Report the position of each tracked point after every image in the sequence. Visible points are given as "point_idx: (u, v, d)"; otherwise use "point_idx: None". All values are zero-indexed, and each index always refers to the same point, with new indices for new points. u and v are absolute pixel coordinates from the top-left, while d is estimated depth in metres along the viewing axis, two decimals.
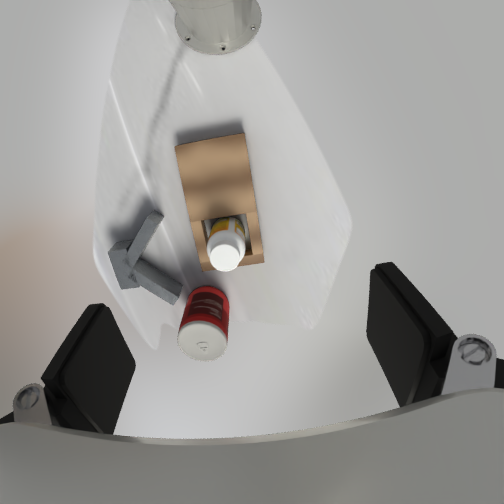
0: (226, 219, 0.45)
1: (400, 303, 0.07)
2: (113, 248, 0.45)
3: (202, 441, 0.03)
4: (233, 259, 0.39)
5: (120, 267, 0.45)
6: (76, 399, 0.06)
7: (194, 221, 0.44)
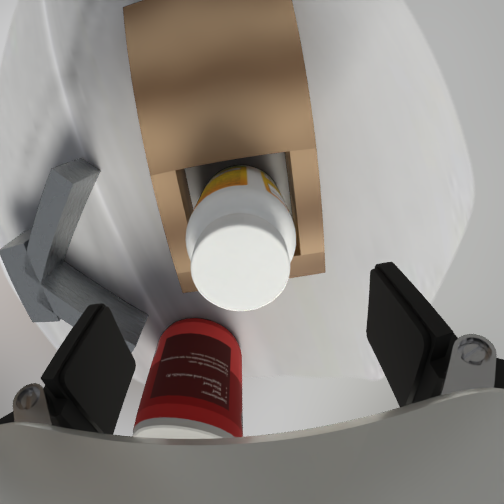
0: (240, 168, 0.18)
1: (400, 303, 0.07)
2: (11, 242, 0.18)
3: (202, 441, 0.03)
4: (267, 274, 0.12)
5: (22, 281, 0.18)
6: (76, 399, 0.06)
7: (159, 173, 0.17)
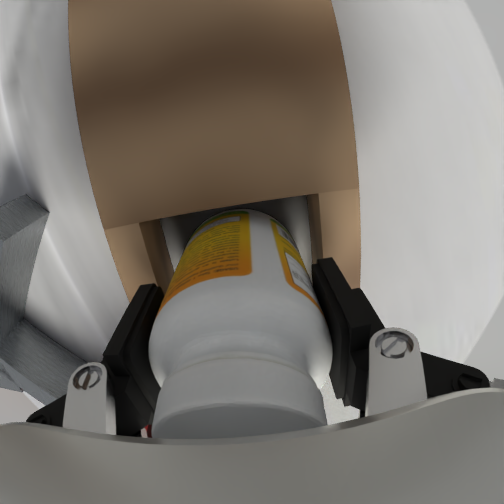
0: (239, 217, 0.12)
1: (327, 295, 0.08)
2: None
3: (202, 441, 0.03)
4: None
5: None
6: (138, 376, 0.07)
7: (116, 226, 0.11)
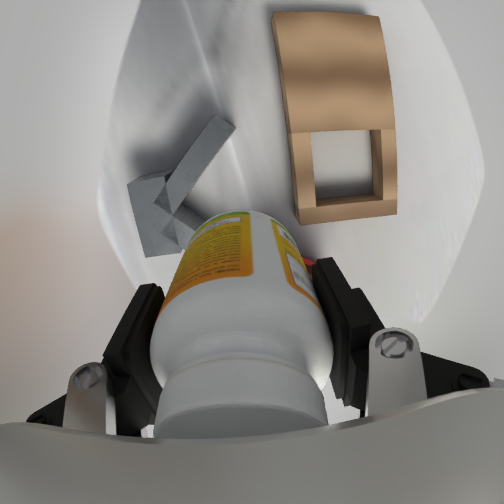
0: (240, 218, 0.12)
1: (327, 295, 0.08)
2: (137, 180, 0.25)
3: (202, 441, 0.03)
4: None
5: (149, 214, 0.25)
6: (138, 376, 0.07)
7: (298, 132, 0.24)
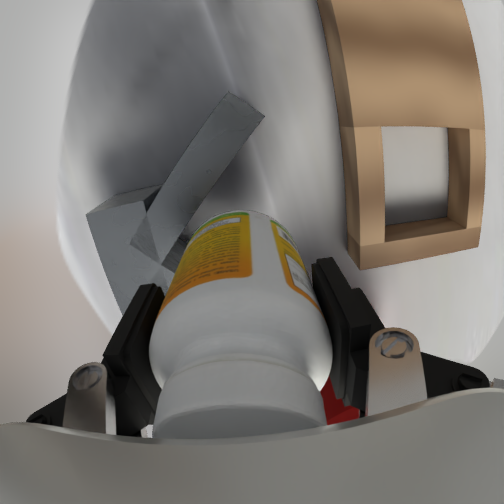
0: (239, 218, 0.12)
1: (327, 295, 0.08)
2: (104, 205, 0.15)
3: (202, 441, 0.03)
4: None
5: (124, 262, 0.15)
6: (138, 376, 0.07)
7: (364, 126, 0.14)
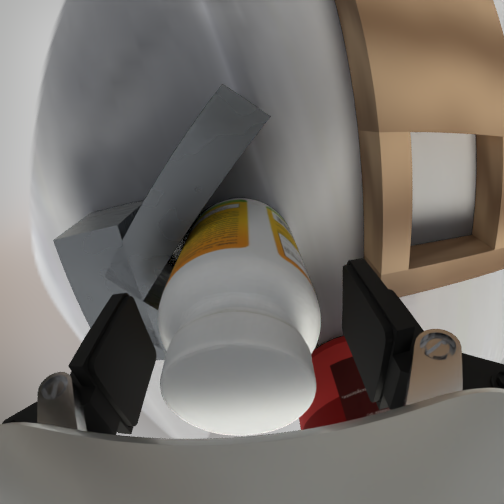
0: (238, 204, 0.13)
1: (366, 298, 0.08)
2: (76, 227, 0.12)
3: (202, 441, 0.03)
4: (280, 401, 0.07)
5: (100, 296, 0.12)
6: (104, 386, 0.07)
7: (391, 131, 0.11)
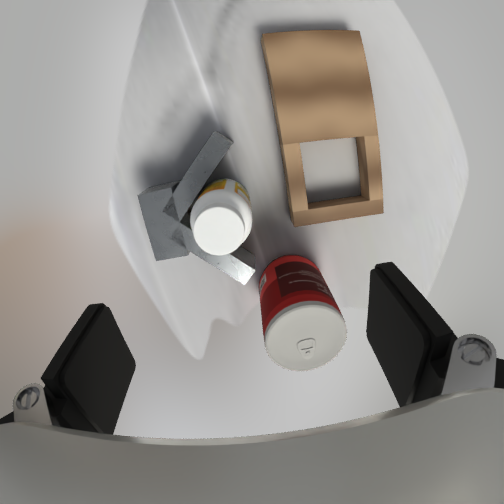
0: (222, 180, 0.29)
1: (400, 303, 0.07)
2: (146, 191, 0.28)
3: (202, 441, 0.03)
4: (232, 233, 0.23)
5: (158, 221, 0.28)
6: (76, 399, 0.06)
7: (289, 143, 0.27)
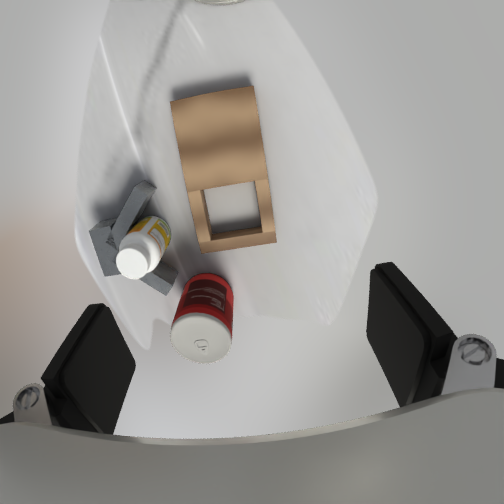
0: (147, 219, 0.38)
1: (400, 303, 0.07)
2: (96, 226, 0.37)
3: (202, 441, 0.03)
4: (140, 265, 0.32)
5: (104, 249, 0.37)
6: (76, 399, 0.06)
7: (192, 191, 0.36)
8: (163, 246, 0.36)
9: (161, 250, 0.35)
